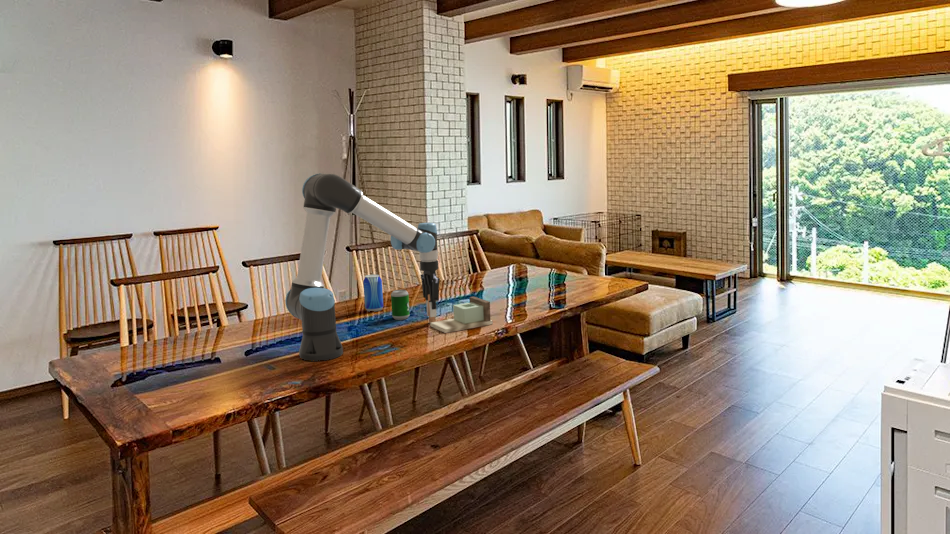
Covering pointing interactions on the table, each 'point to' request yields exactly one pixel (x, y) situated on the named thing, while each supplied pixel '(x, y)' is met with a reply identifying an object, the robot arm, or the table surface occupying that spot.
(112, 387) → the table surface
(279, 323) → the table surface
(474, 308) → the block
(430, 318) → the dowel
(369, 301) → the beer can
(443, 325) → the beige l-shaped bracket
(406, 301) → the soda can
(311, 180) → the robot arm
